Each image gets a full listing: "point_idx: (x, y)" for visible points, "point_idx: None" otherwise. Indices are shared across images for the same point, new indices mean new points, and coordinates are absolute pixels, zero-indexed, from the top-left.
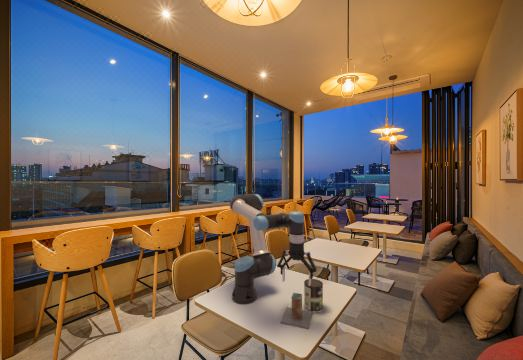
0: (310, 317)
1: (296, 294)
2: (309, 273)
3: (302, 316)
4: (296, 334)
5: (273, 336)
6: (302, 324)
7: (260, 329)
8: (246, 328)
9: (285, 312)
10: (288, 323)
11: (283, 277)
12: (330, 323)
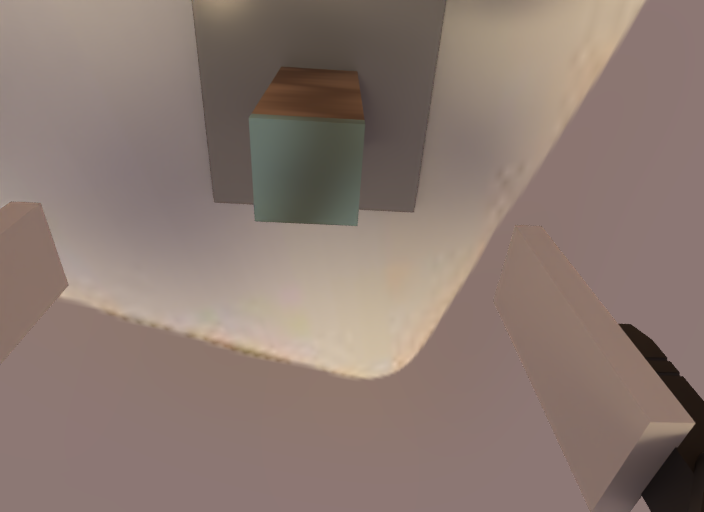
0: (430, 89)
1: (298, 156)
2: (604, 500)
3: (364, 95)
4: (343, 269)
5: (224, 311)
6: (372, 193)
7: (128, 282)
8: None
9: (211, 73)
10: None
11: (16, 335)
12: (579, 102)
